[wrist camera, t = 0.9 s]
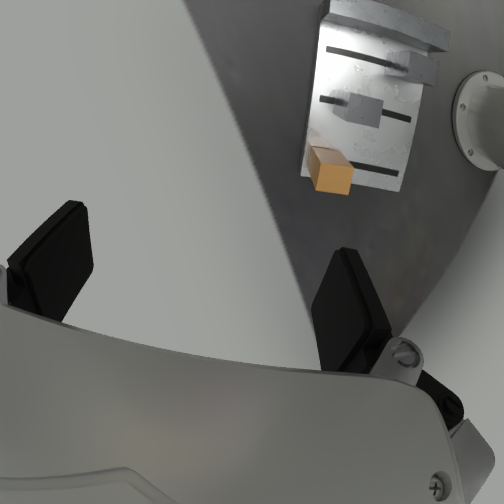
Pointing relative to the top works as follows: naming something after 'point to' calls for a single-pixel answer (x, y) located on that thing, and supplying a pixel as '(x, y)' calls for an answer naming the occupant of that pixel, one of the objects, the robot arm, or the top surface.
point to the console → (369, 87)
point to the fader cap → (330, 171)
